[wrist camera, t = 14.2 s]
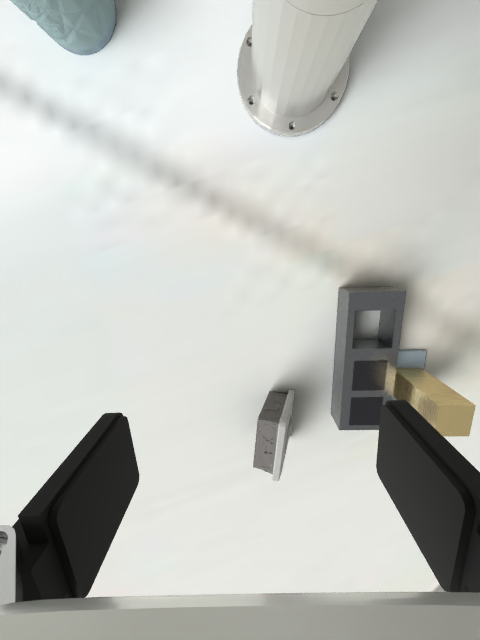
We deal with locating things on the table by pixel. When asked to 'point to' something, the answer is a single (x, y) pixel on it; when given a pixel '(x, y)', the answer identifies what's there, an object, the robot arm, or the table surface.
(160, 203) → the table surface
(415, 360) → the rubber mat
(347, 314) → the rail
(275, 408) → the electrical switch
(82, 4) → the grey-green cup
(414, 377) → the brass peg
